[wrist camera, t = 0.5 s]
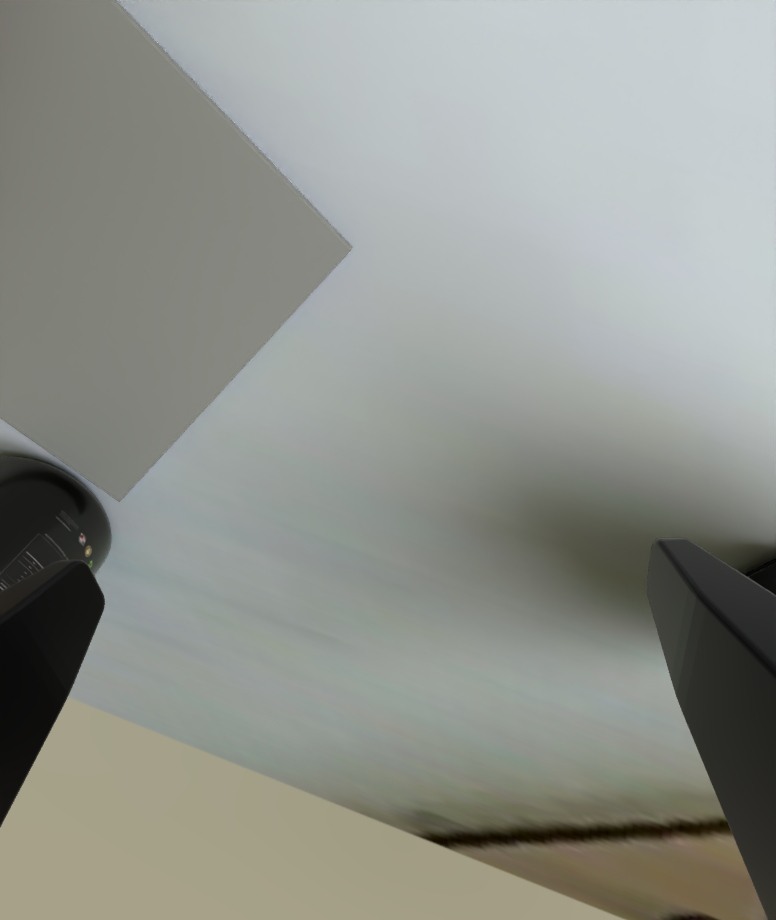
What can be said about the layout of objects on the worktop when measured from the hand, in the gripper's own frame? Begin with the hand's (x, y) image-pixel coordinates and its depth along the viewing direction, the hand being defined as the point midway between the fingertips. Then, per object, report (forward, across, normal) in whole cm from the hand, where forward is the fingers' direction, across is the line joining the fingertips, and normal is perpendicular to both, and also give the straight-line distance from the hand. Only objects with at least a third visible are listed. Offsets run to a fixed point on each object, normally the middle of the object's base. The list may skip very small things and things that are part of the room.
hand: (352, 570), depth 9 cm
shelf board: (+12, +11, -3) cm, 16 cm away
